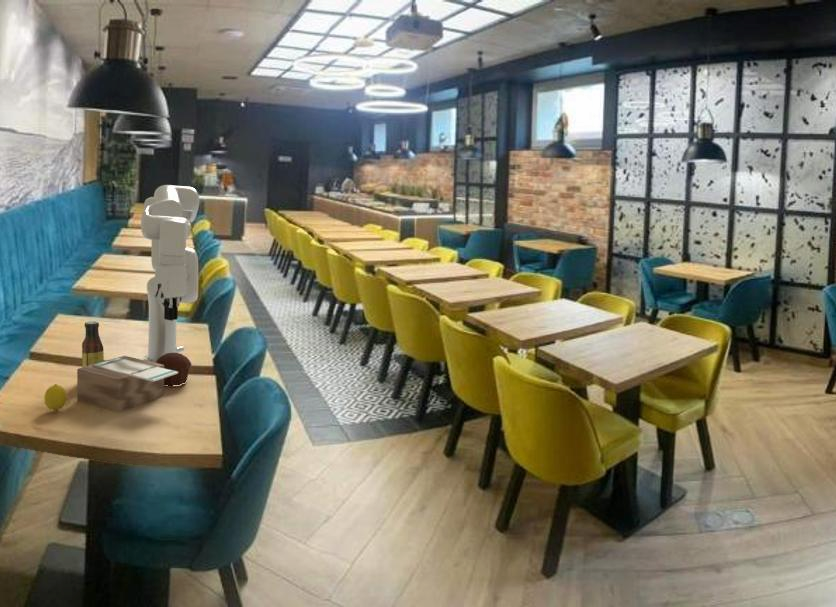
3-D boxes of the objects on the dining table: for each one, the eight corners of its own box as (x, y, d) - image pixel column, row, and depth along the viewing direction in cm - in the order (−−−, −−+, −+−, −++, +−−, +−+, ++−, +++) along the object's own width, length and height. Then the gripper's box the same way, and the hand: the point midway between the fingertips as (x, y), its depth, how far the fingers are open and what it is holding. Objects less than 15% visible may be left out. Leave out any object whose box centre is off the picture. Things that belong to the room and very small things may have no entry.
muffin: (146, 383, 210) (147, 354, 208) (171, 375, 220) (171, 347, 218) (174, 390, 206) (175, 361, 204) (198, 382, 216) (199, 354, 214)
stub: (157, 368, 195) (157, 366, 195) (178, 373, 192) (178, 371, 192) (132, 376, 186) (132, 374, 186) (153, 381, 183) (153, 379, 183)
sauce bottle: (108, 380, 209) (108, 321, 206) (96, 385, 203) (97, 325, 199) (89, 377, 210) (89, 319, 206) (77, 383, 204) (77, 323, 200)
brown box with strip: (124, 385, 206) (124, 353, 204) (163, 395, 201) (164, 363, 199) (77, 400, 189) (77, 366, 187) (118, 412, 184) (119, 377, 182)
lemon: (50, 407, 183) (50, 380, 181) (70, 408, 183) (70, 382, 182) (40, 414, 177) (40, 386, 176) (61, 415, 178) (61, 388, 176)
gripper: (179, 257, 200) (178, 313, 204) (143, 260, 186) (142, 321, 190) (199, 260, 198) (197, 317, 201) (164, 264, 184) (162, 325, 187)
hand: (170, 319), depth 195 cm, fingers closed
